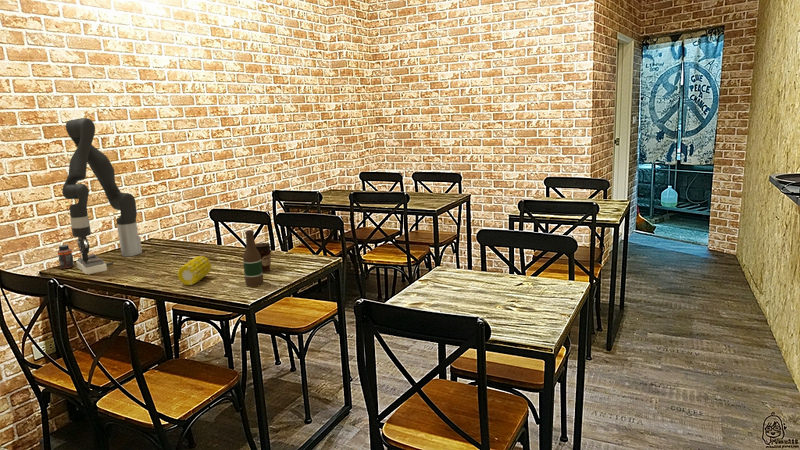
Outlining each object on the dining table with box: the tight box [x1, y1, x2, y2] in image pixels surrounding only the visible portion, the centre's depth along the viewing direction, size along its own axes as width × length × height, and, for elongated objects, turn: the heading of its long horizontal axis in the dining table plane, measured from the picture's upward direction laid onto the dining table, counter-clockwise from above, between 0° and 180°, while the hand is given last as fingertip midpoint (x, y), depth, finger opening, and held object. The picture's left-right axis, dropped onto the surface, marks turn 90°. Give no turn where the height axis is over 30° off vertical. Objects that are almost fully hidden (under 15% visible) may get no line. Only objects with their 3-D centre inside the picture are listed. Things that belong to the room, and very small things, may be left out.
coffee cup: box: [255, 242, 272, 274], centre depth 248 cm, size 9×8×13 cm
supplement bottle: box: [57, 244, 75, 270], centre depth 263 cm, size 6×6×11 cm
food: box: [177, 255, 212, 286], centre depth 238 cm, size 15×12×10 cm
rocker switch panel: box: [75, 254, 114, 275], centre depth 263 cm, size 14×18×5 cm
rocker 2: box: [85, 257, 101, 264], centre depth 257 cm, size 6×4×2 cm
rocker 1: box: [79, 252, 97, 260], centre depth 264 cm, size 6×4×2 cm
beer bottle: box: [242, 229, 264, 287], centre depth 229 cm, size 8×8×24 cm
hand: (85, 261), depth 255 cm, fingers closed
